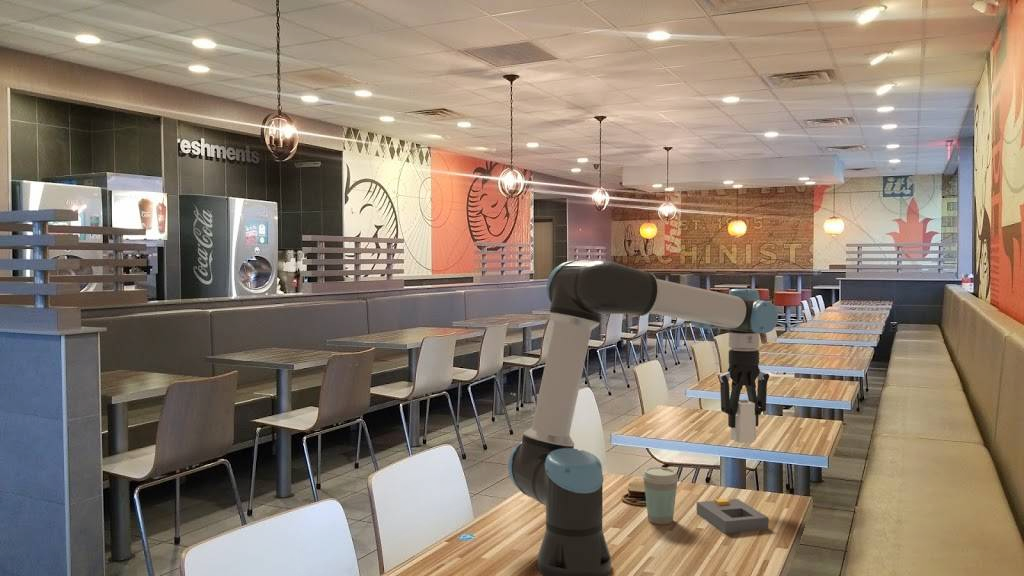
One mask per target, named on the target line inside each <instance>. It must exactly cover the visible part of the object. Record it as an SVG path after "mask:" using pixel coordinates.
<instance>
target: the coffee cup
mask: <svg viewBox="0 0 1024 576" xmlns="http://www.w3.org/2000/svg"><path fill="white" fill-rule="evenodd" d="M642 481H643V483H644V487H645V496H646V505H645V506H646V511H647V520H648V522H650V523H652V524H653V525H654V524H655V525H670V524H672V523H673V520H674V513H675V504H676V496H677V495H676V494H677V488H678V482H679V481H680V479H679V476H678V473H677V471H676V470H675V469H673V468H668V467H663V466H656V467H655V466H652V467H648V468H645V470H644V473H643V474H642Z"/></svg>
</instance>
